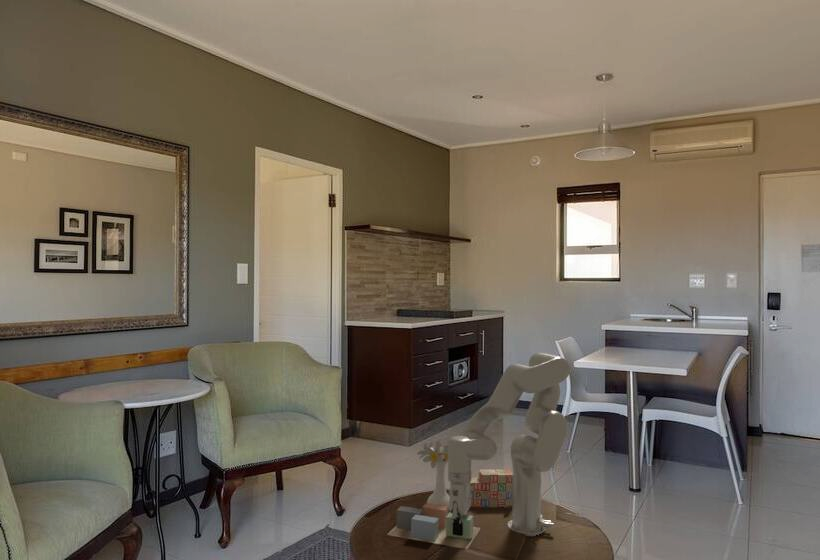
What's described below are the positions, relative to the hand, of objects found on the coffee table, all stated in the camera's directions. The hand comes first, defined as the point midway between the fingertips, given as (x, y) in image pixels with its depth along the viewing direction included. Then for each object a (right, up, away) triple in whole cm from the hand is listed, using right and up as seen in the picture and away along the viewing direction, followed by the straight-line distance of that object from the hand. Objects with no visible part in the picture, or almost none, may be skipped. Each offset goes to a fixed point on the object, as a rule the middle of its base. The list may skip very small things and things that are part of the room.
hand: (459, 531), depth 193 cm
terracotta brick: (-8, -2, +10) cm, 12 cm away
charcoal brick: (-16, -2, +7) cm, 17 cm away
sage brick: (0, -1, 0) cm, 1 cm away
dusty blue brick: (-11, -2, 0) cm, 11 cm away
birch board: (-8, -3, +4) cm, 9 cm away
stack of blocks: (+12, -3, +32) cm, 34 cm away
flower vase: (-5, -3, +23) cm, 24 cm away
